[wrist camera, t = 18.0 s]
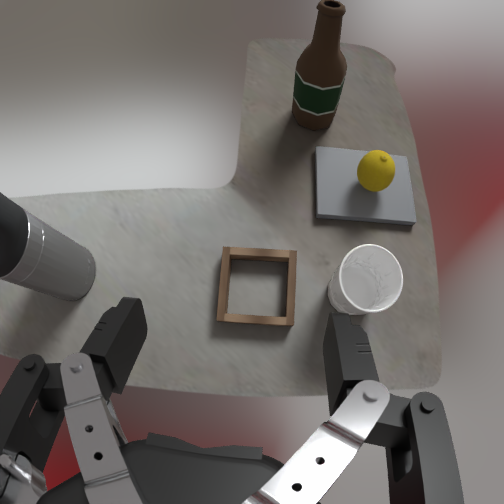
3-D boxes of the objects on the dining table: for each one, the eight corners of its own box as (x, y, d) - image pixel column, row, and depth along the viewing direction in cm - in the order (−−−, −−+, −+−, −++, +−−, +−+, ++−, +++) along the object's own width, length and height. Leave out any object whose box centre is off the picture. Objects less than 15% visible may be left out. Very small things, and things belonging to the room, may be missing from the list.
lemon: (344, 180, 47) (357, 151, 39) (367, 163, 48) (382, 134, 40) (368, 206, 46) (386, 181, 38) (391, 188, 46) (410, 162, 39)
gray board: (316, 217, 47) (317, 213, 45) (314, 151, 50) (316, 146, 49) (412, 225, 46) (416, 222, 45) (403, 161, 49) (406, 156, 48)
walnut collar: (219, 321, 43) (216, 320, 41) (225, 251, 46) (223, 246, 44) (292, 326, 43) (293, 325, 40) (295, 255, 45) (296, 250, 43)
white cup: (356, 254, 45) (378, 231, 36) (385, 299, 43) (414, 287, 34) (312, 283, 44) (325, 267, 35) (342, 330, 42) (364, 326, 33)
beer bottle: (314, 139, 51) (337, 23, 28) (282, 113, 53) (288, -1, 30) (343, 118, 52) (373, 10, 29) (312, 94, 54) (327, -13, 31)
